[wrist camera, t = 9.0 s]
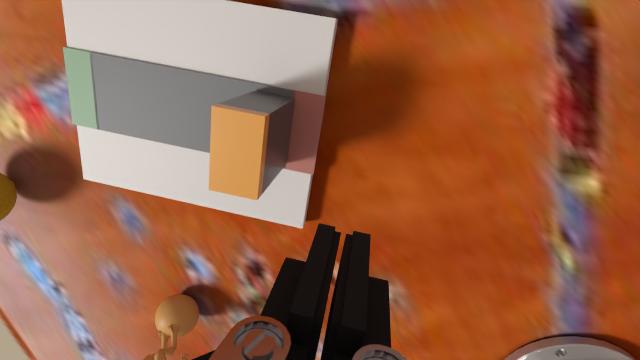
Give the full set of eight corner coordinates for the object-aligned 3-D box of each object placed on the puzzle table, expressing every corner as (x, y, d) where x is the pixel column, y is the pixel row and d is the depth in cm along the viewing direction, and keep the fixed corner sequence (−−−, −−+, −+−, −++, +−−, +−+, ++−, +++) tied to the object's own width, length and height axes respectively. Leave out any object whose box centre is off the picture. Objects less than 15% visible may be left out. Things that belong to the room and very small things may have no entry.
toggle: (294, 98, 24) (265, 116, 18) (286, 163, 26) (257, 200, 20) (254, 90, 25) (211, 106, 18) (249, 155, 26) (208, 189, 20)
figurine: (203, 271, 33) (115, 382, 22) (241, 314, 35) (176, 440, 24) (149, 302, 36) (48, 415, 25) (186, 342, 38) (105, 465, 26)
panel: (340, 20, 23) (338, 18, 22) (307, 222, 29) (304, 230, 28) (70, -25, 25) (53, -29, 24) (92, 173, 31) (79, 179, 30)
